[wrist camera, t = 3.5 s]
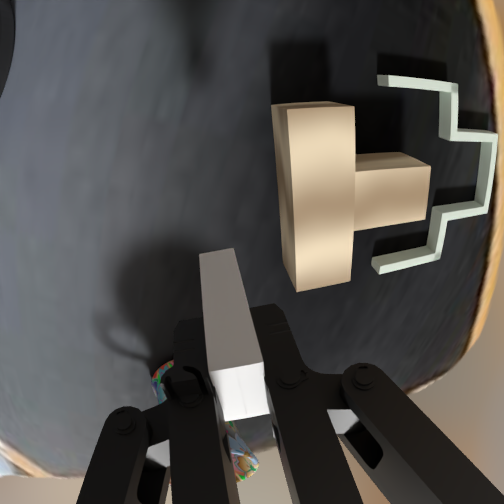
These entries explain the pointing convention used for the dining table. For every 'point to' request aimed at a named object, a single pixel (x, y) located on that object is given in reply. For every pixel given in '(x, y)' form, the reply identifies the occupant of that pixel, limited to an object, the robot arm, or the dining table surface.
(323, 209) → the t block
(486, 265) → the dining table surface
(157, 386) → the mug
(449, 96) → the jig
